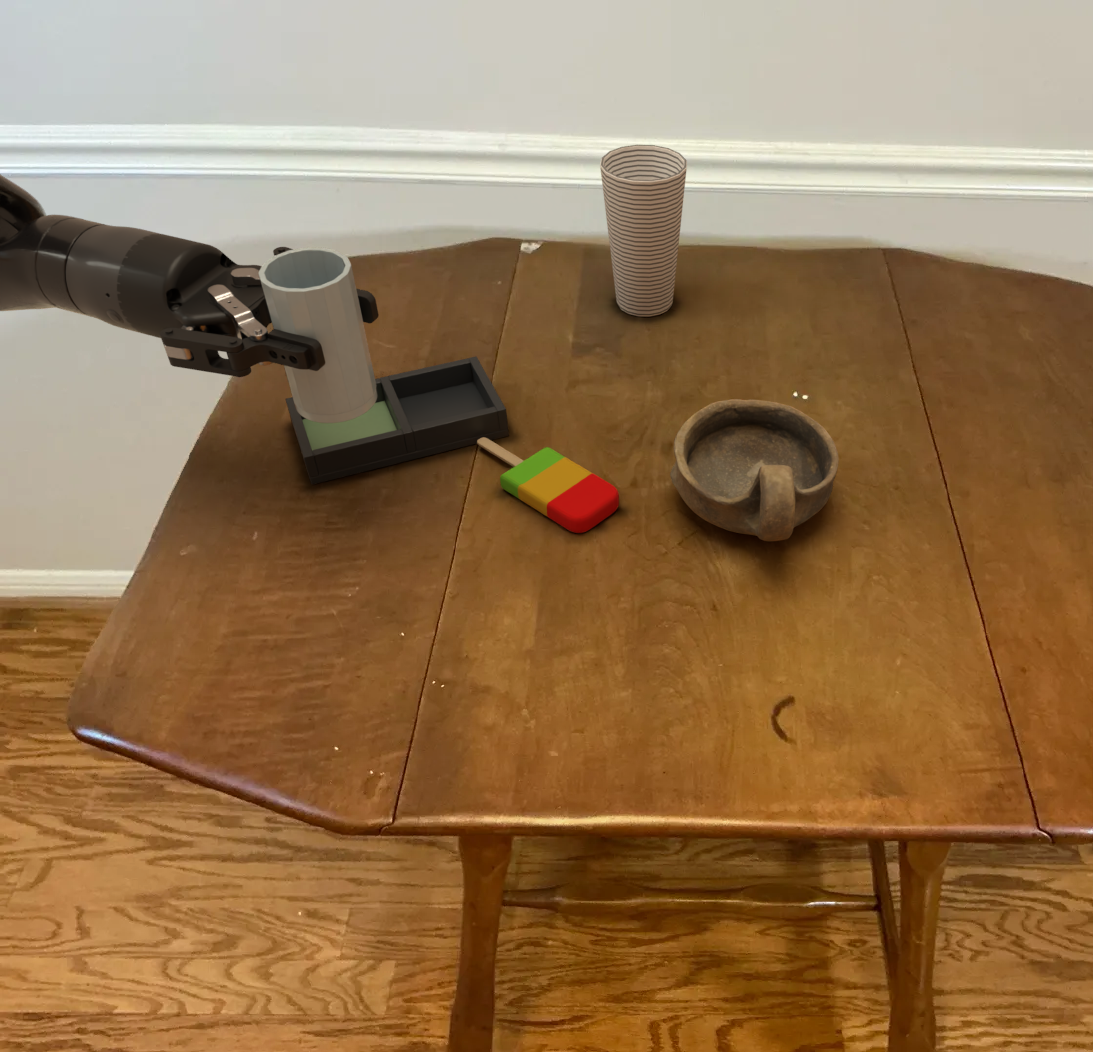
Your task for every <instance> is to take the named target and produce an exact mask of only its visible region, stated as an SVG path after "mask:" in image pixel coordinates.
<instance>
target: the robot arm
mask: <svg viewBox="0 0 1093 1052" xmlns="http://www.w3.org/2000/svg"><path fill="white" fill-rule="evenodd" d="M294 249H295V248H294ZM294 249H293V248H290V247H287V246H279V247H276V248H274V249H273V251H272V253H273V256H275V255H278V254H281V253H283V252H286V251H289V250H294ZM261 267H262V265H258V264H238V263H237V262H235V261H234V260H232V259H231V258H229V256H227V255H226V254H225V253H224V252H223V251H221V250H220V248H217V247H216V246H213V245H211V244H208V243H203V242H199V241H195V240H191V239H186V238H182V237H178V236H173V235H169V234H164V233H159V232H155V231H151V230H147V229H144V228H143V229H142V228H138V227H131V226H121V225H120V226H119V225H112V224H111V225H110V224H105V223H100V222H97V221H92V220H87V219H84V218H80V217H75V216H72V215H64V214H48V215H47V213H46V210H45V208H44V207H43V205H42V204H41V203H40V201H39V200H38V199H36V197H35V196H34V195H32V194H31V193H30V192H28V191H27V190H26V189H25V188H23V187H22V186H20V185H19V184H17V183H15V182H13V181H12V180H11V179H8V178H7V177H5V176H4V175H2V174H1V173H0V312H12V311H26V310H27V311H28V310H43V309H44V310H47V309H54V308H55V309H60V310H64V311H67V312H70V313H76V314H78V315H83V316H86V317H90V318H93V319H97V320H100V321H102V322H103V323H106V324H109V325H110V326H114V327H116V328H119V329H124V330H128V331H131V332H135V333H139V334H143V335H147V336H151V337H154V338H159V339H160V340H161V342H162V344H163V347H164V350H165V353H166V356H167V358H168V361H169V364H170V366H172V367H176V368H181V369H188V370H193V371H198V372H207V373H211V374H212V373H213V374H218V375H224V376H231V377H236V378H244V377H247V376H249V375H250V374H251V373H252V367H253V366H256V365H259V366H270V365H272V364H277V365H281V366H284V365H285V366H288V367H293V368H296V369H303V370H308V369H309V370H313V371H318V370H319V369H321V368H322V367H323V366H324V365H325V358H324V354H323V350H322V346H321V344H320V343H319V341H317V340H316V339H313V338H309V337H305V336H301V335H296V334H292V333H288V332H284V331H281V330H277V329H272V330H271V331H270V332H269V330H268V326H269V325H270V324H272V321H271V318H270V314H269V311H268V307H267V303H266V300H265V296H264V292H263V289H262V285H261V282H260V278H259V274H258V272H259V270H260V268H261ZM356 290H357V295H358V299H359V304H360V309H361V314H362V319H363V323H364V324H365V323H366V324H373V323H374V322H375V321H376V320H378V318H379V311H378V305H377V299H376V297H375V295H374V294H373V293H372V292H370V291H368V290H364V289H360V288H356ZM219 352H224V353H226V356H227V358H224V357H222V356H221V355H220V353H219Z"/></svg>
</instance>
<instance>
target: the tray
mask: <svg viewBox="0 0 1093 1052" xmlns="http://www.w3.org/2000/svg"><path fill="white" fill-rule="evenodd" d="M375 381H376V389H377V400H376V402H375V404H374V405H373V406H372V408H371V409H369V410H368V411H367V412H366V413H364V414H362V415H361V416H359V417H356V418H354V419H351V420H348V421H344V422H338V423H319V422H314V421H311V420H308V419H306V418H304V417H303V416H301V415H300V414H299V413H298V412H297V410H296V408H295V404H294V401H293V397H292V396H290V397H287V398H285V404H286V406H287V410H288V414H289V417H290V420H291V424H292V427H293V430H294V433H295V437H296V440H297V443H298V447H299V450H300V453H301V456H302V460H303V462H304V466H305V469H306V472H307V476H308V478H309V481H310V484H311V485H316V484H321V483H325V482H329V481H333V480H337V479H341V478H344V477H349V476H351V475H356V474H360V473H365V472H368V471H372V470H376V469H380V468H385V467H388V466H389V467H390V466H393V465H396V464H400V463H405V462H409V461H413V460H417V459H420V458H424V457H429V456H433V455H437V454H441V453H446V452H449V451H454V450H458V449H461V448H465V447H469V446H473V445H478V444H477V440H479V439H480V438H483V437H485V438H487V439H489V440H491V441H492V440H493V441H494V440H496V439H501V438H505V437H508V436H509V435H510V432H509V421H508V415H507V408H506V407H505V405H504V402H503V401H502V399H501V398H500V395H499V394H498V392H497V390H496V389H495V387H494V385H493V383H492V381H491V379H490V378H489V376H488V374H487V372H486V371H485V369H484V367H483V365H482V364H481V362H480V360H479V358H478V356H476V355H475V356H472V357H468V358H467V357H466V358H463V359H462V358H461V359H459V360H454V361H448V362H444V363H440V364H436V365H431V366H426V367H422V368H417V369H413V370H408V371H403V372H400V373H399V372H398V373H395V374H391V375H386V376H382V377H377V378H375Z"/></svg>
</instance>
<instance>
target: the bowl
mask: <svg viewBox="0 0 1093 1052" xmlns="http://www.w3.org/2000/svg"><path fill="white" fill-rule="evenodd" d="M673 441H674V442H673V454H674V458H675V462H674V463H673V465H672V467H671V468H670V469H671V470H670V473H669V476H670V480H671V483H672V485H673V486H674V488H675V489H676V491H677V492H678V494H679V496H680V498H681V499H682V500H683V501H684V503H685V504H686V505H687V507H688V508H689V509H690V510H691V511H692V512H693V513H694V514H695V515H697V516H698V517H700V518H701V519H702V520H703V521H706V522H708V523H709V524H711V525H714V526H716V527H718V528H720V529H724V530H726V531H728V532H733V533H738V534H743V535H749V536H757V538H758V539H759V540H762V541H764V542H778V541H784V540H785V541H786V540H788V539H789V538H790V537H791V536H792V534H793V532H794V528H795V527H798V526H800V525H801V524H804V523H806V522H807V521H808V520H809V519H811V518H812V517H813V516H815V515H816V514H818V513H819V512H820V511H821V510H822V509H823V508H824V507H825V505H826V504H827V502H828V501H829V500H830V497H831V495H832V492H833V487H834V480H835V478H836V477H837V476H836V475H837V472H838V468H839V461H840V460H839V452H838V449H837V446H836V443H835V441H834V439H833V438H832V436H831V434H830V433H829V432H828V431H827V430H826V428H825V427H824V426H823V425H822V424H820V423H819V422H818V421H816V420H815V419H813V418H812V417H811V416H809V415H808V414H806V413H805V412H803V411H801V410H800V409H797V408H795V407H793V406H791V405H789V404H783V403H781V402H776V401H769V400H762V399H761V400H760V399H740V398H734V399H732V398H731V399H725V400H719V401H715V402H711V403H710V404H707V405H706V406H704V407H702V408H701V409H699V410H697V411H695V413H693V414H692V415H691V416H690V417H689V418H688V419H686V420H685V422H684V423H683V424H682V425H681V427H680V428H679V430H678V431H677V433H676V434H675V438H674V440H673Z"/></svg>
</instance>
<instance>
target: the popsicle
mask: <svg viewBox="0 0 1093 1052" xmlns="http://www.w3.org/2000/svg"><path fill="white" fill-rule="evenodd" d="M476 445H478V446H479V447H480V448H482V449H484V450H485V451H487V452H489V453H490V454H492V455H494V456H495V457H497V458H498V459H500V460H502V461H503V462H504V463H506V464H508V465H509V466H511V468H510V469H509V470H507V471H506V472H504V473H502V474H500V476H499V482H500V486H501V489H503V490H505V491H506V492H507V493H509V494H510V495H512V496H514V497H515V498H517V499H518V500H520V501H521V502H523V503H525V504H526V505H528V506H529V507H531V508H532V509H534V510H536V511H537V512H539V513H541V514H542V515H544V516H545V517H547V518H548V519H550V520H552V521H553V522H555V523H556V524H558V525H560V526H561V527H562V528H564V529H566V530H568V531H569V532H571V533H574V534H575V533H576V534H582V533H585V532H588V531H589V530H591V529H593V528H594V527H596V526H597V525H598V524H600V523H601V522H603V521H604V520H605V519H607V518H608V517H611V515H612V514H614V513H615V512H616V511H617V509H618V507H619V506H620V494H619V490H618V489H617V487H615V485H613V484H612V483H610V482H608V481H607V480H605V479H603V478H602V477H600V476H598V475H597V474H595V473H593V472H591V470H588V469H586V468H584V467H583V466H581V465H580V464H579V463H577V462H575V461H573V460H571V459H569V458H568V457H566V456H565V455H563V454H561V453H559V452H557V451H556V450H554V449H553V448H551V447H549V446H546V447H545V446H544V447H543V448H541V449H540V450H539V451H537V452H535V453H533V454H532V455H530V456H529V457H527V458H526V459H522V458H520V457H519V456H517V455H515V454H514V453H512V452H511V451H509V450H507V449H505V448H504V447H502V446H501V445H499V444H497V442H496V443H495V442H494V441H492V440H489V439H487V438H485V437H483V438H480V439H479V440H477V444H476Z"/></svg>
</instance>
